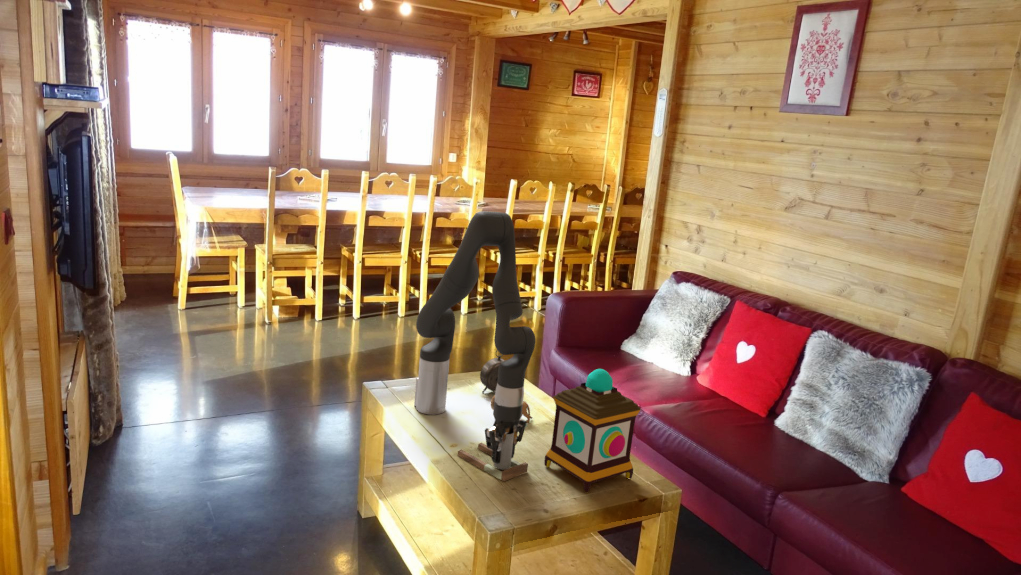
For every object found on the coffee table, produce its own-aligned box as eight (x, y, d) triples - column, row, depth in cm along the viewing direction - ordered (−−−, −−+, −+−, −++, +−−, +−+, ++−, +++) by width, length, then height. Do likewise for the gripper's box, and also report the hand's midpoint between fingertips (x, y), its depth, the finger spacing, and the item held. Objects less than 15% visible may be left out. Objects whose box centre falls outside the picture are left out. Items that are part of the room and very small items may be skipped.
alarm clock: (505, 388, 257) (510, 344, 253) (513, 394, 252) (518, 349, 249) (477, 391, 251) (482, 346, 248) (485, 397, 247) (489, 351, 243)
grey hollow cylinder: (508, 471, 195) (512, 435, 192) (491, 468, 196) (495, 432, 193) (511, 463, 199) (515, 428, 197) (495, 460, 200) (499, 425, 198)
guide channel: (457, 455, 203) (458, 447, 202) (480, 447, 209) (481, 439, 209) (503, 481, 191) (504, 472, 190) (527, 472, 197) (528, 463, 197)
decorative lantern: (536, 465, 202) (548, 361, 195) (588, 451, 214) (601, 353, 207) (586, 498, 187) (600, 387, 180) (639, 481, 199) (655, 376, 192)
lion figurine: (492, 426, 224) (494, 398, 222) (485, 419, 229) (488, 392, 227) (535, 422, 230) (538, 396, 228) (528, 416, 235) (531, 389, 233)
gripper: (517, 390, 201) (511, 448, 204) (479, 401, 190) (473, 461, 194) (537, 399, 196) (530, 458, 200) (499, 410, 186) (493, 472, 189)
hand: (502, 459), depth 197 cm, fingers closed on grey hollow cylinder, 4 cm apart
